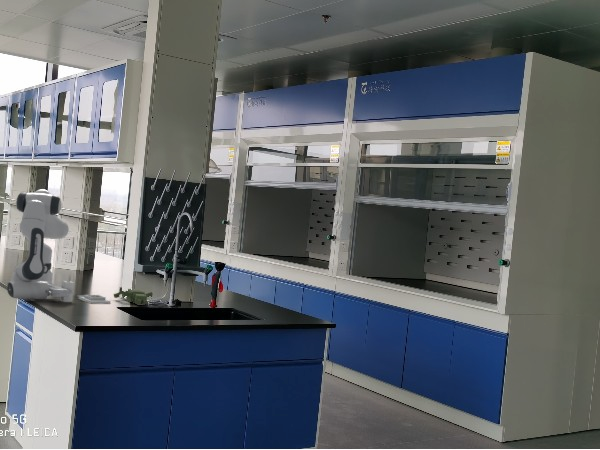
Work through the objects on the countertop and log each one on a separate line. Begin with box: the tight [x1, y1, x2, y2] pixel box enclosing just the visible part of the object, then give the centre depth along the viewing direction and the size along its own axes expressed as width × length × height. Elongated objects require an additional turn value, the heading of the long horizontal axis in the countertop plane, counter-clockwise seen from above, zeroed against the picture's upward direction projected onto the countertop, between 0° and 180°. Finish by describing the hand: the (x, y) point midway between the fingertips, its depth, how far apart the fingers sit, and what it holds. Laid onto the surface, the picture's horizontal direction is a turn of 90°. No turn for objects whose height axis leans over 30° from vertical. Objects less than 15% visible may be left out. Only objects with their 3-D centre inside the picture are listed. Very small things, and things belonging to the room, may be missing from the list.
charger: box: [59, 280, 75, 303], centre depth 347 cm, size 4×4×10 cm
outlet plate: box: [78, 294, 111, 304], centre depth 358 cm, size 14×11×3 cm
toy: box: [113, 286, 154, 305], centre depth 372 cm, size 21×8×30 cm
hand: (68, 290), depth 348 cm, fingers open, 6 cm apart
